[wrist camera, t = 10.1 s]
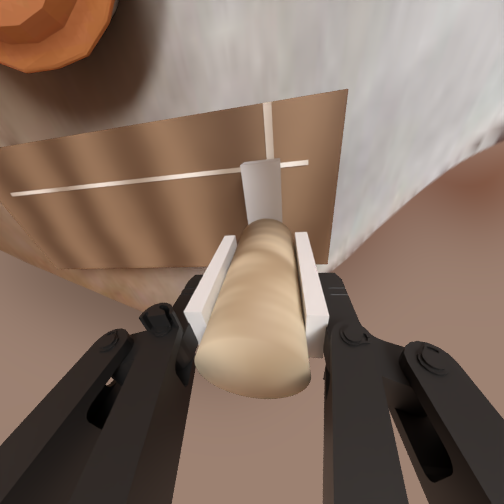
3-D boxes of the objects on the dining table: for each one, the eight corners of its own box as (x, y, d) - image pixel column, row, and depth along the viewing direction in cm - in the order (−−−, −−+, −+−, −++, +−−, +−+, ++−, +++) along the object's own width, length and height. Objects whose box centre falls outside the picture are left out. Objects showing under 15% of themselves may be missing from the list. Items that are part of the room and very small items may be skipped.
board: (80, 255, 24) (56, 269, 22) (4, 151, 18) (-41, 154, 15) (321, 246, 19) (327, 264, 16) (334, 97, 13) (348, 88, 10)
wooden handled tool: (242, 268, 21) (200, 421, 10) (222, 160, 15) (65, 236, 4) (305, 267, 20) (337, 440, 9) (310, 150, 14) (427, 216, 3)
